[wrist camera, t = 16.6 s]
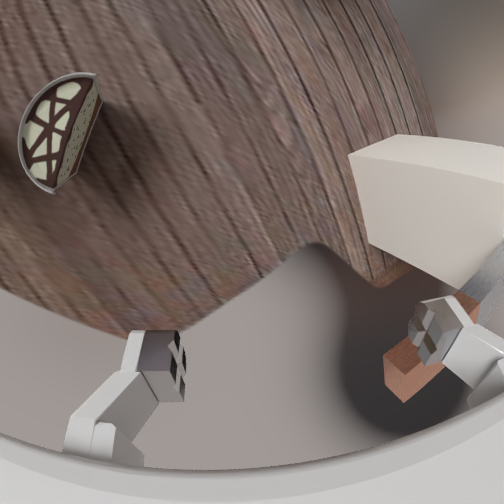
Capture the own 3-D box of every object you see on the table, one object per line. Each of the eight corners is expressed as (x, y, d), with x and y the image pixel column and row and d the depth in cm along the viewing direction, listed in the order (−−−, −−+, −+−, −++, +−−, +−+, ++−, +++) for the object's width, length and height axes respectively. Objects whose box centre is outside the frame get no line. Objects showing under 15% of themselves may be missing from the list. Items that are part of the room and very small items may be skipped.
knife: (385, 384, 21) (403, 402, 19) (383, 355, 19) (405, 375, 17) (506, 264, 24) (523, 273, 22) (509, 233, 22) (527, 241, 20)
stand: (368, 243, 50) (503, 315, 25) (347, 154, 43) (518, 188, 18) (412, 215, 52) (536, 266, 27) (397, 134, 45) (545, 156, 20)
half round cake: (66, 78, 26) (42, 57, 17) (108, 89, 29) (96, 69, 20) (32, 172, 29) (-1, 182, 20) (73, 184, 31) (50, 198, 22)
